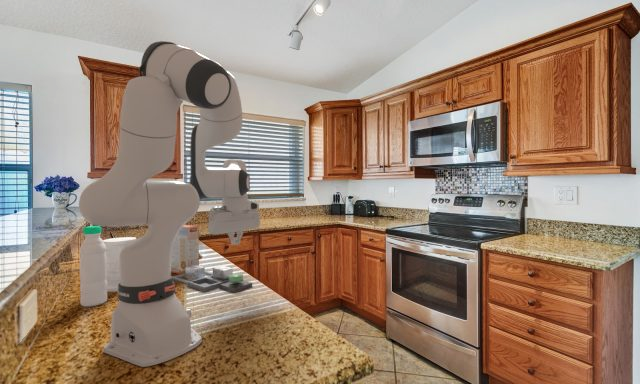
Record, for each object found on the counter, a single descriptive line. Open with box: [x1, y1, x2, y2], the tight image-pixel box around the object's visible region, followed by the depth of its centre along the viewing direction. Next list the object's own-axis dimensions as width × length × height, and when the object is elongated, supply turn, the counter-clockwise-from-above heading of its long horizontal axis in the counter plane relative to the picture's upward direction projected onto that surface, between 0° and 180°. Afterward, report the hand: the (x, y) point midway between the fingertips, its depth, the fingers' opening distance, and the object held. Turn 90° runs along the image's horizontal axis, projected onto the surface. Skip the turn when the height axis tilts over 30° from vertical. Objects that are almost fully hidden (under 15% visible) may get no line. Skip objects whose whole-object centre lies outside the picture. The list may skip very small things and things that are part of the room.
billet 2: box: [212, 265, 234, 281], centre depth 120 cm, size 7×4×5 cm, turn 52°
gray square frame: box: [172, 270, 213, 285], centre depth 125 cm, size 12×12×2 cm
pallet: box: [186, 275, 229, 293], centre depth 117 cm, size 11×15×3 cm
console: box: [219, 280, 253, 293], centre depth 112 cm, size 8×8×2 cm
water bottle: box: [78, 225, 108, 308], centre depth 101 cm, size 7×7×25 cm
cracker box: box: [171, 224, 200, 275], centre depth 135 cm, size 14×6×21 cm, turn 58°
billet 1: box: [185, 265, 206, 281], centre depth 125 cm, size 7×4×5 cm, turn 52°
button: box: [229, 273, 244, 285], centre depth 112 cm, size 5×5×4 cm
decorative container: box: [102, 236, 137, 293], centre depth 118 cm, size 12×12×18 cm
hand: (235, 243), depth 112 cm, fingers closed
